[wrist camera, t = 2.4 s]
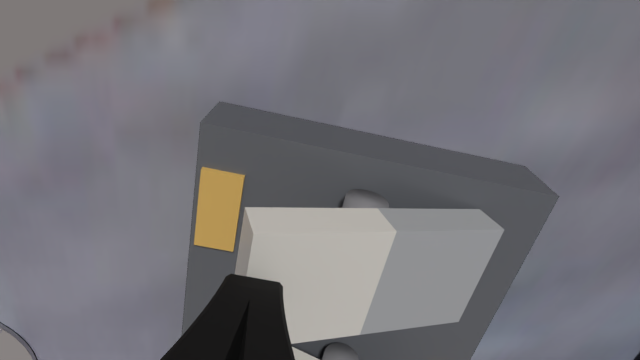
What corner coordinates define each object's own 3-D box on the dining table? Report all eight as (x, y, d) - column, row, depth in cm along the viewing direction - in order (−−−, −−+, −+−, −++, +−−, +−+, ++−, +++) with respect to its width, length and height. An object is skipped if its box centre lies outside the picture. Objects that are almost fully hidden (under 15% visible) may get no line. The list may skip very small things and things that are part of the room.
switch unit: (525, 166, 16) (562, 199, 13) (382, 460, 24) (389, 513, 22) (219, 101, 15) (198, 124, 12) (183, 432, 23) (167, 484, 21)
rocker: (455, 189, 15) (504, 229, 12) (420, 274, 16) (458, 321, 14) (236, 182, 11) (253, 234, 9) (222, 287, 13) (233, 351, 11)
